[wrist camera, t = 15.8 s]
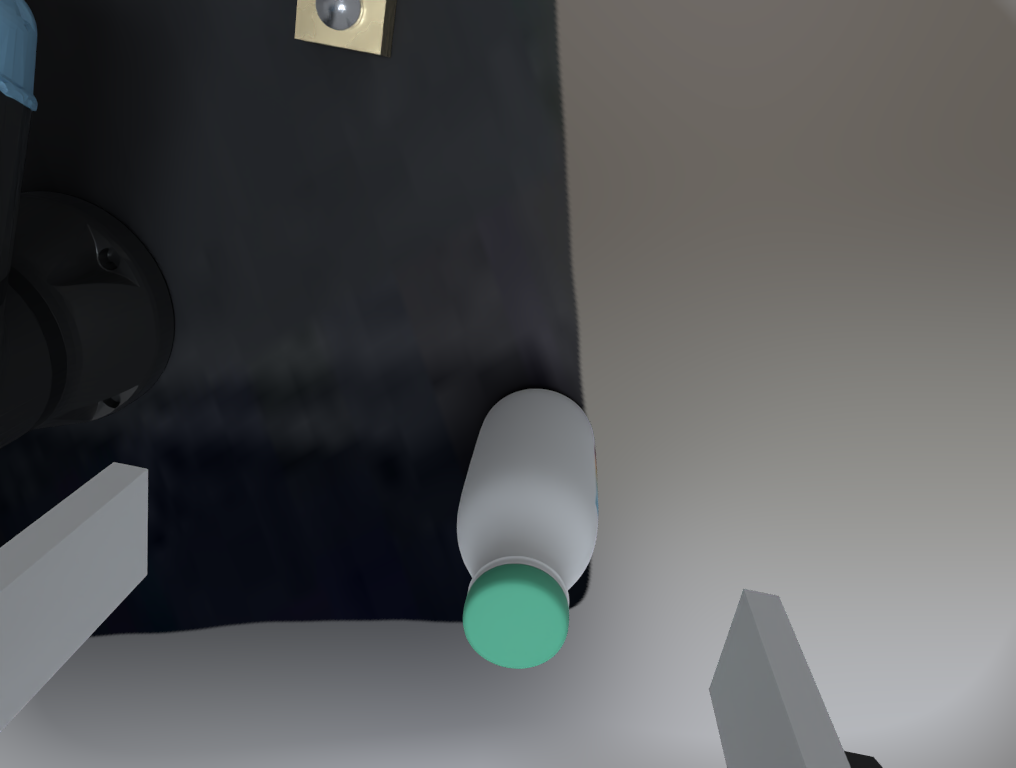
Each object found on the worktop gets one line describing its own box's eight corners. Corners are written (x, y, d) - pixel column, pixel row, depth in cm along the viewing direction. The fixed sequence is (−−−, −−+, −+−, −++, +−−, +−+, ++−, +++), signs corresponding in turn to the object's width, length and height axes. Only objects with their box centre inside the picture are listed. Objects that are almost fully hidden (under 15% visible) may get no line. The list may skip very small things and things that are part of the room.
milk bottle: (458, 421, 51) (389, 601, 32) (554, 363, 49) (540, 519, 30) (521, 508, 53) (490, 726, 34) (616, 455, 51) (640, 656, 32)
